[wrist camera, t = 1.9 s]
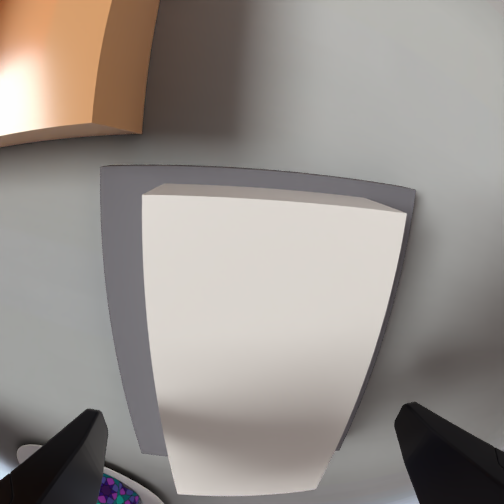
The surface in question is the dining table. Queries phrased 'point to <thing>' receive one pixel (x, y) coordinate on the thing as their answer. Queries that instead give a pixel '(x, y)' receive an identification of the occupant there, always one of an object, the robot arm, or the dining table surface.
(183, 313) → the cover board
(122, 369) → the mat
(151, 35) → the dish
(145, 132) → the dining table surface
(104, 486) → the pudding
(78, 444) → the robot arm
